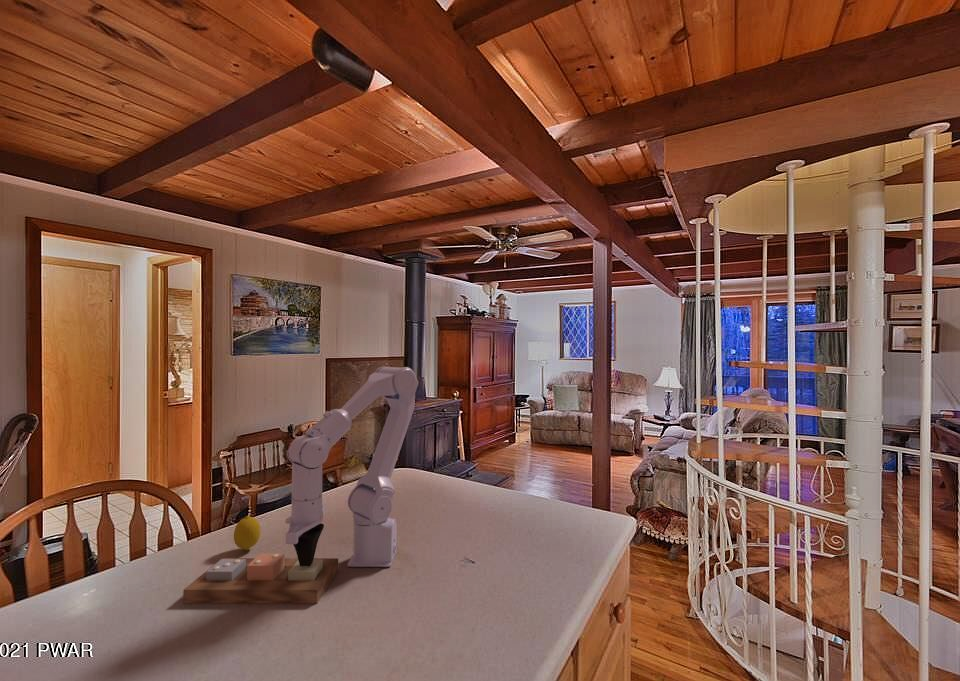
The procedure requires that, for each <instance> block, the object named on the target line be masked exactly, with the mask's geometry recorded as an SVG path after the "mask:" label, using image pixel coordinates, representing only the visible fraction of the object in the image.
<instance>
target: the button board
mask: <svg viewBox="0 0 960 681" xmlns="http://www.w3.org/2000/svg"><path fill="white" fill-rule="evenodd" d="M255 558H256V557H251V558H249V557H248V558H247V557H246V558H245V557H243V558H241V557H238V558H237V557H236V558H235V557H230V558H229V557H225V558H224V557H222V558H221V559H246V568H245V569H244V570H243V571H242V572H241V573H240V574H239V575H238V576H237V577H236V578H235V579H233V580H206V571H208V570H209V569H210V568H208V569H207V570H206V571H205V572H203V573H202V574H201V575H200V576H199V577H197V578H196V579H194V580H193V581H192V582H191V583H189V585H187V586H186V587H185V588H184V589H182V590H183V596H182V597H183V598H182V602H183V604H318V603H319V601H320V599H321V598H322V597H323V595H324V593H325V592H326V590H327V588H328V587H329V586H330V584H331V582H332V580H333V579H334V578H335V576H336V575H337V573H338V571H339V558H335V557H334V558H330V557H329V558H328V557H327V558H325V557H323V558H320V557H319V558H316V557H314V559H323V570H322V571H321V572H320V574H319V575H318V577H317V578H316V580H315V581H288V572H289V570H290V569H291V568H292V567H293V566H294V565H295V563H296V562H297V561H298V557H296V558H293V557H291V558H290V557H286V558H285V568H284V569H283V571H282V572H281V573H280V574H279V575H278V576H277V577H276V578H275V580H274V581H260V580H247V566H248V565H249V564H250V563H251V562H252V561H253V560H254V559H255ZM221 559H219V560H218V561H217V562H216V563H218V562H219V561H220V560H221ZM216 563H214V564H213V565H212V566H211V567H213V566H214V565H215V564H216Z"/></svg>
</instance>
